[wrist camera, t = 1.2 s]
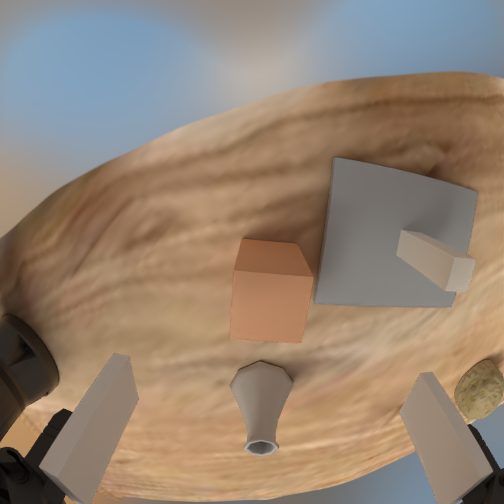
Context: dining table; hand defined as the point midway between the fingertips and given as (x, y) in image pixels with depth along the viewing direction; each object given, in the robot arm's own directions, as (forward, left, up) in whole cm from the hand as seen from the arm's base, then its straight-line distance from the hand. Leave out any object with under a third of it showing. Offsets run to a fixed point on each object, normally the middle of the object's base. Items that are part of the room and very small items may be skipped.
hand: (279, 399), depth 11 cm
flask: (+1, -15, -17) cm, 23 cm away
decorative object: (+38, -18, -17) cm, 45 cm away
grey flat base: (+14, +4, -17) cm, 22 cm away
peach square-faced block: (0, 0, -17) cm, 17 cm away
